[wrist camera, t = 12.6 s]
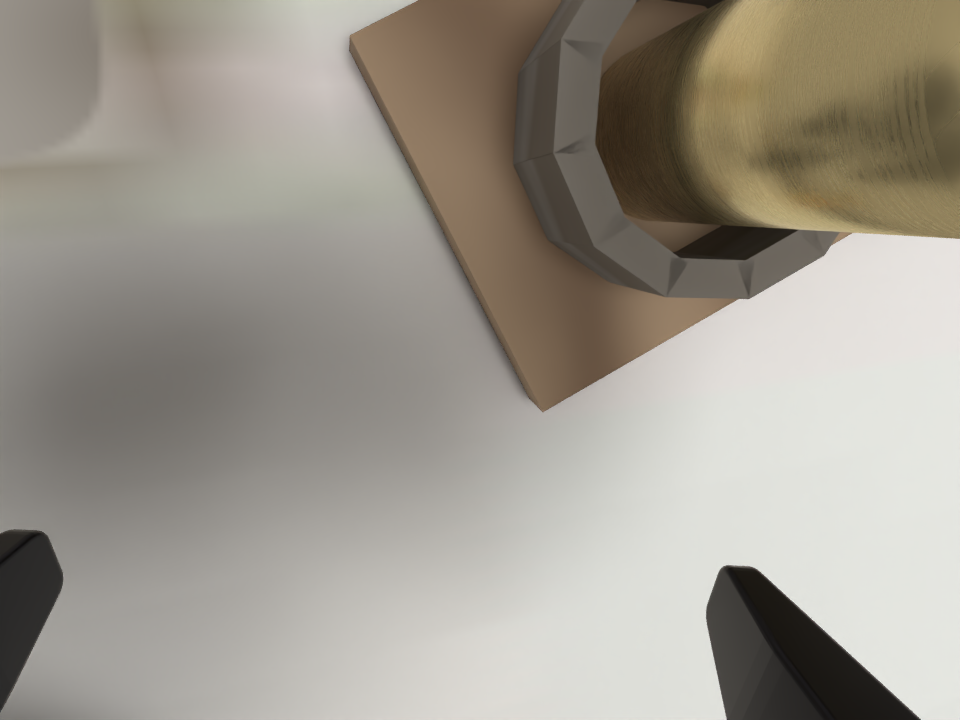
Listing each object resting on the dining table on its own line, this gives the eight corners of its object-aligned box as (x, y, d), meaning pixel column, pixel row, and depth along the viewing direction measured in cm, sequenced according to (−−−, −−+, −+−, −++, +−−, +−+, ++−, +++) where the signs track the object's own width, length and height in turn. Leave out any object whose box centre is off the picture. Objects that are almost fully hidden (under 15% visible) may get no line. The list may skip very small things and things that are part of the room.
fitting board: (529, 398, 21) (584, 453, 16) (349, 50, 17) (351, -13, 12) (952, 154, 22) (1119, 138, 17) (871, -218, 18) (1056, -368, 14)
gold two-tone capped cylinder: (711, 234, 19) (1379, 290, 7) (565, 203, 18) (1051, 205, 5) (755, 66, 18) (1646, -234, 6) (603, 22, 17) (1312, -486, 4)
